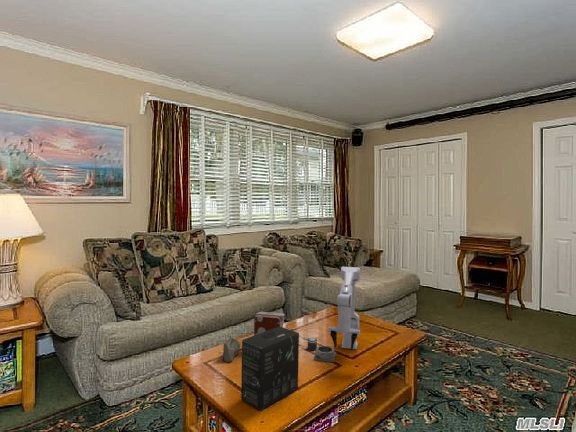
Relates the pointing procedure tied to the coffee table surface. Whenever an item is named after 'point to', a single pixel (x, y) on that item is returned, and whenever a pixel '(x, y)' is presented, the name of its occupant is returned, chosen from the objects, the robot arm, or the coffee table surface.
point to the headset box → (269, 366)
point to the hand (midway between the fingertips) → (343, 348)
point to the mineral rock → (230, 349)
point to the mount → (325, 354)
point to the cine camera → (267, 321)
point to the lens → (312, 344)
